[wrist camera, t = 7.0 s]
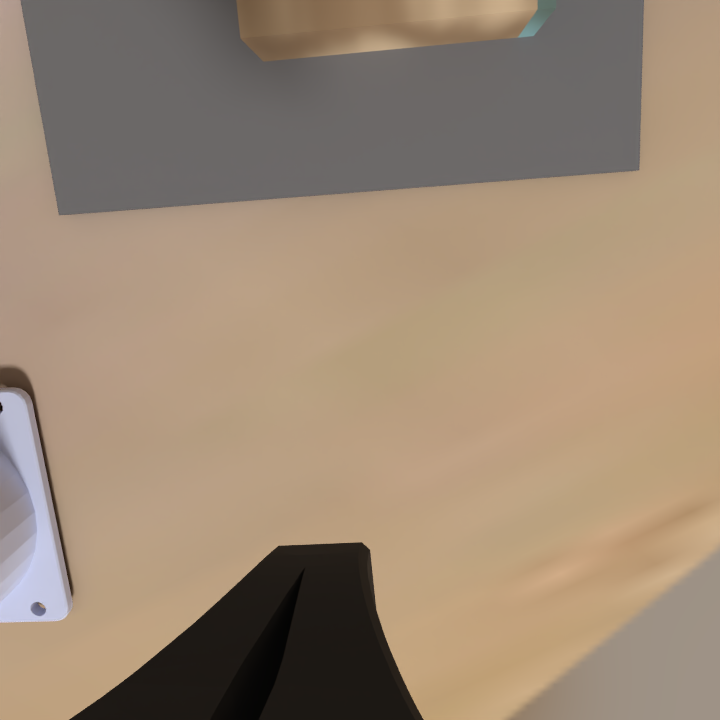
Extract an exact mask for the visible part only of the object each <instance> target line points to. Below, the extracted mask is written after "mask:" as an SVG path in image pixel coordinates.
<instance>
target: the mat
mask: <svg viewBox="0 0 720 720" xmlns="http://www.w3.org/2000/svg"><path fill="white" fill-rule="evenodd" d="M21 5H22V11H23V17H24V22H25V28H26V33H27V39H28V45H29V50H30V56H31V61H32V67H33V72H34V78H35V84H36V89H37V95H38V100H39V106H40V111H41V117H42V123H43V128H44V134H45V139H46V145H47V151H48V156H49V162H50V167H51V173H52V178H53V184H54V190H55V195H56V201H57V206H58V212H59V215H70V214H83V213H96V212H109V211H122V210H135V209H148V208H161V207H174V206H186V205H199V204H212V203H225V202H238V201H251V200H264V199H277V198H290V197H303V196H315V195H328V194H341V193H354V192H367V191H380V190H393V189H406V188H419V187H431V186H444V185H457V184H470V183H483V182H496V181H509V180H522V179H535V178H548V177H560V176H573V175H586V174H599V173H612V172H625V171H636V170H639V161H640V123H641V86H642V49H643V12H644V0H556V9H555V10H554V11H553V12H552V14H551V15H550V16H549V17H548V19H547V20H546V21H545V22H544V24H543V25H542V26H541V27H540V29H539V30H538V31H537V32H536V34H535V35H534V36H529V37H518V38H508V39H497V40H486V41H476V42H465V43H455V44H444V45H434V46H423V47H413V48H402V49H391V50H381V51H370V52H360V53H349V54H339V55H328V56H317V57H307V58H296V59H286V60H275V61H265V62H263V61H262V60H261V59H260V58H259V57H258V56H257V55H256V54H255V53H254V52H253V51H252V50H251V49H250V48H249V47H248V46H247V45H246V44H245V43H244V42H243V41H242V40H241V39H240V30H239V20H238V11H237V2H236V0H21Z"/></svg>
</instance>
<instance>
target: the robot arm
mask: <svg viewBox="0 0 720 720" xmlns="http://www.w3.org/2000/svg"><path fill="white" fill-rule="evenodd" d="M0 402H1V404H2V406H3V411H0V622H36V621H59V620H62V619H63V618H65V617H66V616H67V615H68V613H69V612H70V611H71V609H72V606H73V602H72V597H71V592H70V587H69V582H68V577H67V572H66V567H65V562H64V557H63V552H62V547H61V542H60V537H59V532H58V527H57V522H56V517H55V513H54V508H53V503H52V498H51V493H50V488H49V483H48V478H47V473H46V468H45V463H44V458H43V453H42V448H41V443H40V438H39V433H38V429H37V424H36V419H35V414H34V409H33V404H32V400H31V398H30V396H29V395H28V394H27V392H26V391H24V390H22V389H20V388H15V387H9V388H0ZM37 602H40V603H42V604H43V605H44V606H45V608H46V609H45V608H42V607H40V606H39V605H38V603H37ZM70 720H423V718H422V716H421V715H420V713H419V711H418V709H417V707H416V705H415V703H414V701H413V699H412V697H411V695H410V693H409V691H408V689H407V687H406V685H405V683H404V681H403V679H402V676H401V674H400V672H399V670H398V667H397V665H396V663H395V660H394V658H393V656H392V653H391V651H390V648H389V646H388V643H387V641H386V638H385V635H384V633H383V630H382V626H381V623H380V620H379V617H378V614H377V611H376V604H375V594H374V584H373V575H372V565H371V555H370V549H368V548H367V547H366V546H365V545H364V544H363V543H362V542H361V543H337V544H313V545H289V546H278V547H277V548H276V549H274V550H273V551H272V552H271V553H270V554H269V555H267V556H266V557H265V558H264V559H263V560H262V561H261V562H260V563H259V564H258V565H257V566H256V567H255V568H253V569H252V570H251V571H250V572H249V573H248V574H247V575H246V576H245V577H244V578H243V579H242V580H241V581H240V582H239V583H238V584H237V585H235V586H234V587H233V588H232V589H231V590H230V591H229V592H228V593H227V594H226V595H225V596H224V597H222V598H221V599H220V600H219V601H218V602H217V603H216V604H215V605H214V606H213V607H211V608H210V609H209V610H208V611H207V612H206V613H205V614H204V615H203V616H202V617H201V618H199V619H198V620H197V621H196V622H195V623H194V624H193V625H191V626H190V627H189V628H188V629H187V630H185V631H184V632H183V633H182V634H181V635H179V636H178V637H177V638H176V639H175V640H173V641H172V642H171V643H170V644H169V645H167V646H166V647H165V648H164V649H162V650H161V651H160V652H159V653H158V654H156V655H155V656H154V657H153V658H152V659H150V660H149V661H148V662H147V663H146V664H144V665H143V666H142V667H141V668H140V669H138V670H137V671H136V672H135V673H133V674H132V675H131V676H129V677H128V678H127V679H125V680H124V681H123V682H122V683H120V684H119V685H118V686H116V687H115V688H113V689H112V690H111V691H109V692H108V693H107V694H105V695H104V696H103V697H101V698H100V699H98V700H97V701H96V702H94V703H93V704H91V705H90V706H88V707H87V708H85V709H84V710H83V711H81V712H80V713H78V714H77V715H75V716H74V717H72V718H71V719H70Z"/></svg>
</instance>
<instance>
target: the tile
mask: <svg viewBox="0 0 720 720" xmlns="http://www.w3.org/2000/svg"><path fill="white" fill-rule="evenodd" d="M236 2H237V11H238V20H239V30H240V39H241V40H242V41H243V42H244V43H245V44H246V45H247V46H248V47H249V48H250V49H251V50H252V51H253V52H254V53H255V54H256V55H257V56H258V57H259V58H260V59H261V60H262V61H263V62H265V61H275V60H286V59H296V58H307V57H317V56H328V55H339V54H349V53H360V52H370V51H381V50H391V49H402V48H413V47H423V46H434V45H444V44H455V43H465V42H476V41H486V40H497V39H508V38H518V37H529V36H534V35H535V34H536V32H537V31H538V30H539V29H540V27H541V26H542V25H543V24H544V22H545V21H546V20H547V19H548V17H549V16H550V15H551V14H552V12H553V11H554V10H555V9H556V0H236Z"/></svg>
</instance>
